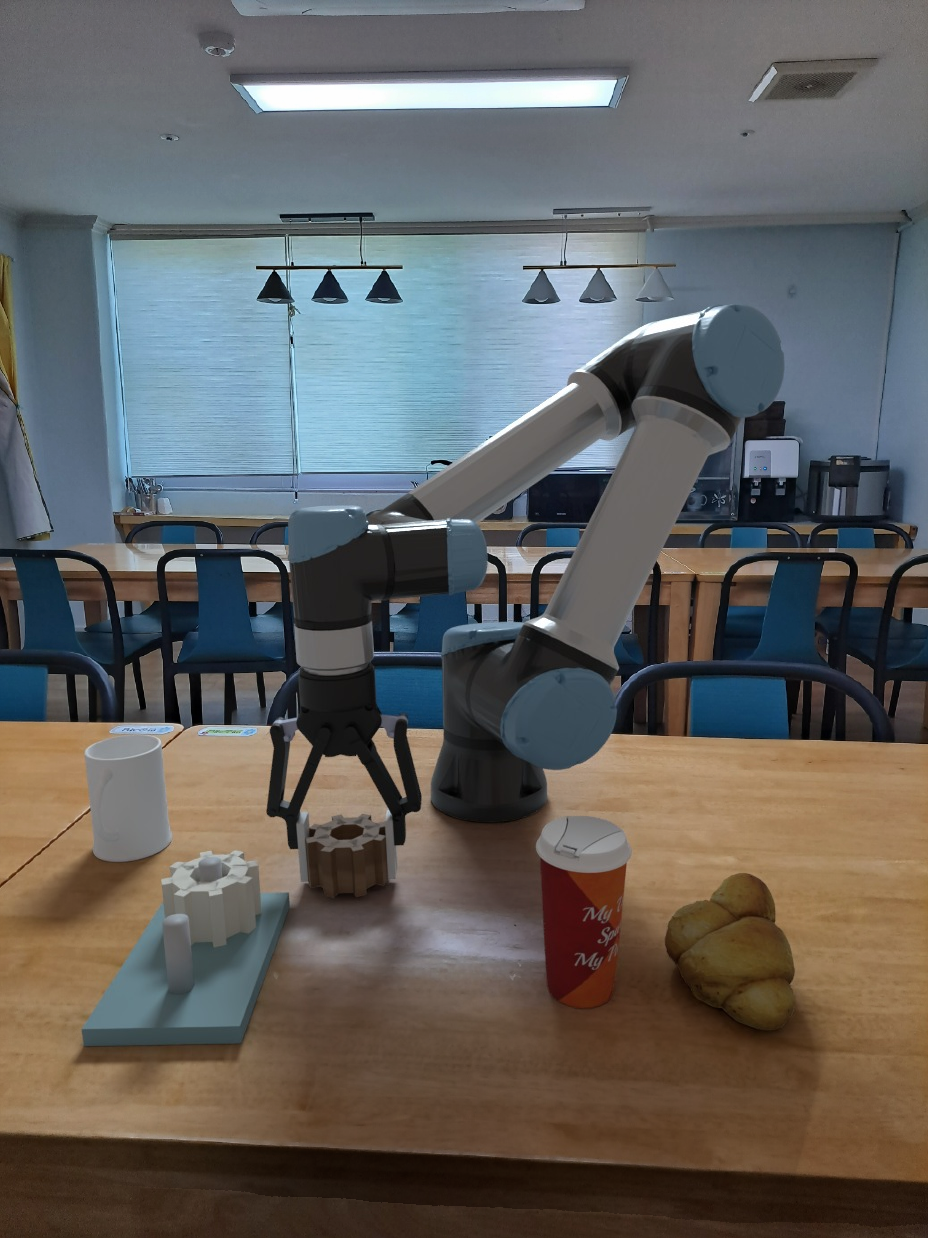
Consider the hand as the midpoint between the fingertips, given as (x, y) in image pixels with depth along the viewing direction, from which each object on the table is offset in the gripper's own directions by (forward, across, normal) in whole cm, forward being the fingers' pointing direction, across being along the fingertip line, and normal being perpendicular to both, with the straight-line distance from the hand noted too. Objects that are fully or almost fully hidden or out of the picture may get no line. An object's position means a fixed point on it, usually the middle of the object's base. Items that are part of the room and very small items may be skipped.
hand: (349, 873), depth 84 cm
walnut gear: (0, 0, 0) cm, 0 cm away
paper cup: (+2, -22, +17) cm, 28 cm away
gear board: (+1, +12, +14) cm, 18 cm away
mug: (+1, +26, -8) cm, 28 cm away
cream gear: (-1, +12, +9) cm, 15 cm away
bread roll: (+2, -34, +18) cm, 38 cm away
